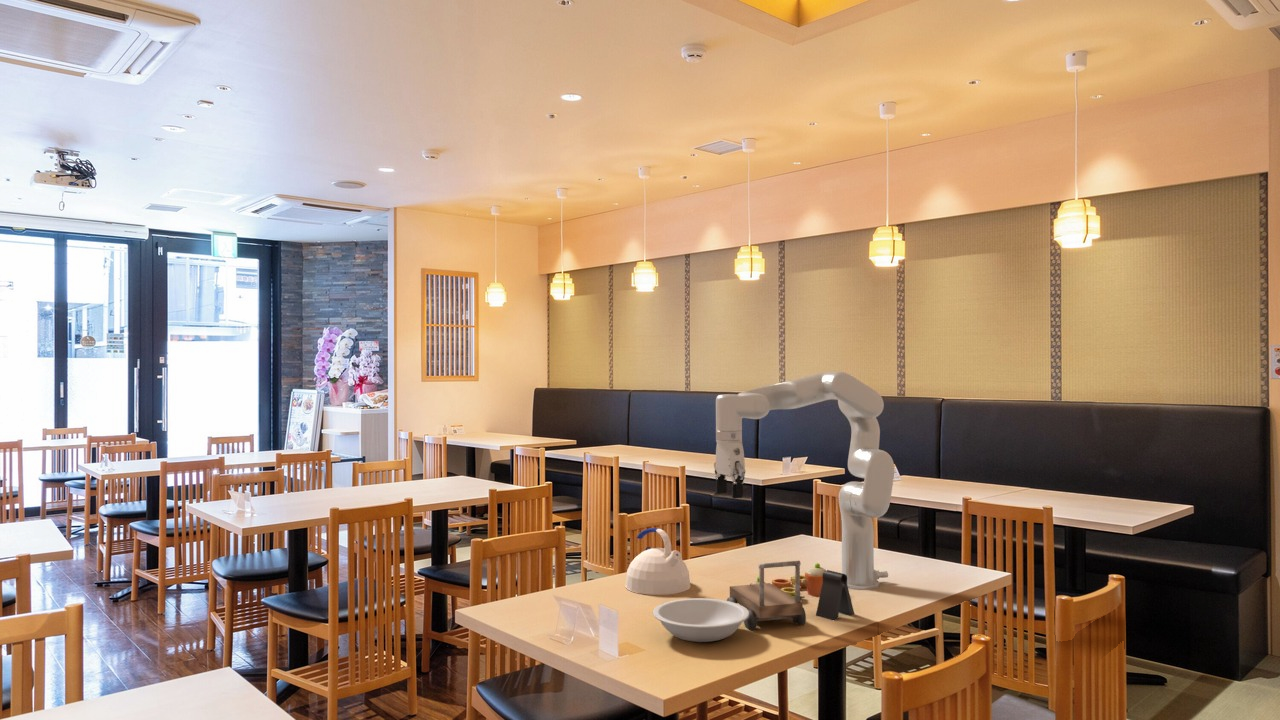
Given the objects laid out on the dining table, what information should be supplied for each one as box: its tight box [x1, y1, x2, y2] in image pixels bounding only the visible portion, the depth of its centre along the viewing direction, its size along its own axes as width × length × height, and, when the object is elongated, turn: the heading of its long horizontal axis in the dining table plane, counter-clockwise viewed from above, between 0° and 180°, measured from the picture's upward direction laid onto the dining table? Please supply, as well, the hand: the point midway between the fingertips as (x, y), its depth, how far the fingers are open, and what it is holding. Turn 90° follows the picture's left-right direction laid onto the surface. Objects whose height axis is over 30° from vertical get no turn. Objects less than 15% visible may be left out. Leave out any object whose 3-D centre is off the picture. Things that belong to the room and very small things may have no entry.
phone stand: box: [815, 569, 855, 621], centre depth 224 cm, size 9×6×12 cm, turn 128°
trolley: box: [726, 560, 807, 631], centre depth 221 cm, size 15×20×18 cm
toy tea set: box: [748, 562, 827, 603], centre depth 244 cm, size 26×16×10 cm, turn 127°
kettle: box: [624, 527, 692, 596], centre depth 256 cm, size 20×21×18 cm
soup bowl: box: [652, 597, 749, 643], centre depth 208 cm, size 24×24×7 cm
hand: (729, 495), depth 242 cm, fingers open, 9 cm apart
